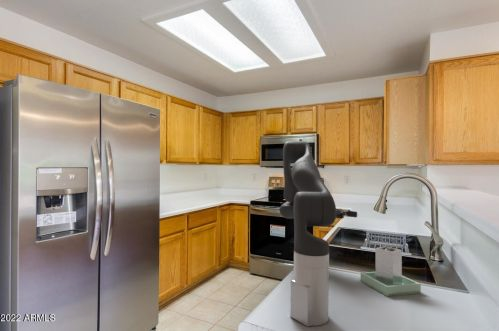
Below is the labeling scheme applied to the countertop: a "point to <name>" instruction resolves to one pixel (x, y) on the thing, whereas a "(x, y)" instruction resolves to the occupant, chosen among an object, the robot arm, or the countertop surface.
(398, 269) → the canister
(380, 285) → the bin
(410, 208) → the countertop surface
